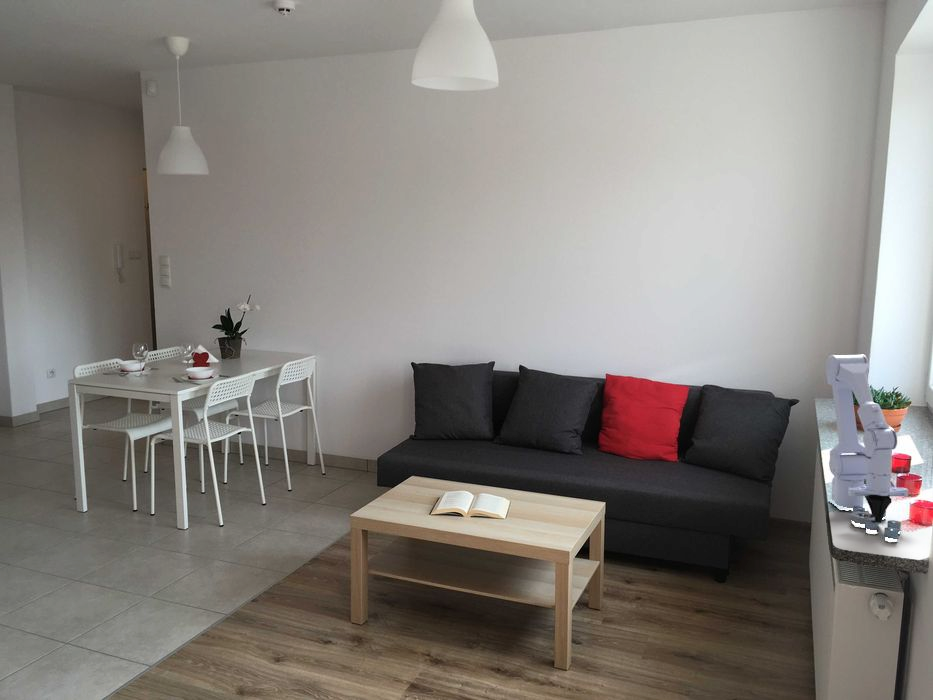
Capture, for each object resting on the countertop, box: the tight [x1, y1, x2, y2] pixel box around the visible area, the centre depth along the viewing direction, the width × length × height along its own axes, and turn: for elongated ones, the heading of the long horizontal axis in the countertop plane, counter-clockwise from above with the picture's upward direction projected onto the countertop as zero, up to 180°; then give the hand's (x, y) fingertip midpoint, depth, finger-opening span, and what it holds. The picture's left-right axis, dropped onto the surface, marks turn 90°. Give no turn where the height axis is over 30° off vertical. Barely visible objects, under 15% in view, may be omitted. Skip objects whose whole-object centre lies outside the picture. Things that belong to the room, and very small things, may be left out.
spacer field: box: [852, 506, 902, 539], centre depth 201 cm, size 20×10×3 cm, turn 174°
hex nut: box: [850, 511, 875, 524], centre depth 204 cm, size 6×5×3 cm
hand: (877, 522), depth 204 cm, fingers closed
